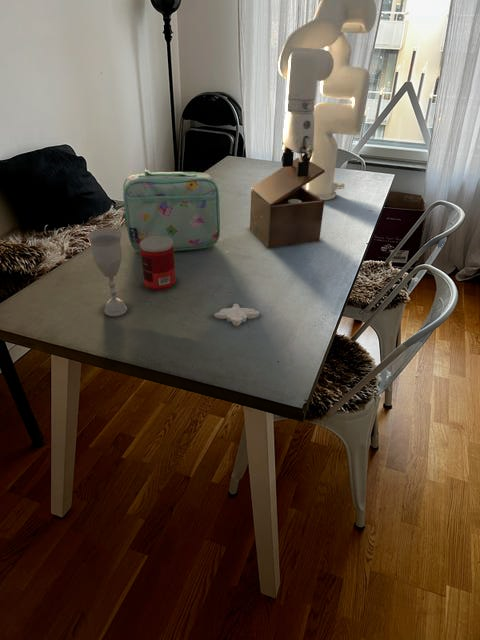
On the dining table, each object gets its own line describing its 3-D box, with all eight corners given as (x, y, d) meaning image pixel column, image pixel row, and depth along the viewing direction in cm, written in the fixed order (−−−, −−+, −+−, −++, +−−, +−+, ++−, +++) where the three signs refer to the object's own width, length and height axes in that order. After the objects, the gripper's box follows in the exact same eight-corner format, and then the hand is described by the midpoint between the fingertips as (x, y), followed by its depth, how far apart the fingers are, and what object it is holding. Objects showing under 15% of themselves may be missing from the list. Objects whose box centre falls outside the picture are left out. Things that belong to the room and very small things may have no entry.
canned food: (180, 278, 118) (178, 238, 112) (166, 293, 112) (163, 251, 105) (153, 273, 120) (150, 233, 114) (138, 287, 114) (133, 246, 107)
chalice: (102, 301, 108) (90, 228, 98) (132, 301, 108) (123, 228, 98) (97, 319, 102) (84, 243, 92) (129, 318, 102) (119, 242, 92)
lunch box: (125, 257, 127) (115, 179, 115) (125, 242, 135) (115, 167, 123) (221, 250, 132) (221, 174, 120) (215, 236, 140) (215, 163, 128)
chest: (297, 223, 150) (301, 185, 144) (319, 241, 139) (324, 201, 132) (249, 229, 145) (251, 190, 139) (268, 248, 134) (270, 207, 127)
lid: (301, 158, 139) (300, 155, 138) (325, 172, 127) (324, 169, 127) (251, 189, 139) (250, 187, 138) (271, 206, 127) (270, 204, 127)
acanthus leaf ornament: (259, 316, 104) (259, 309, 103) (239, 329, 100) (240, 322, 99) (233, 304, 108) (233, 297, 107) (213, 316, 104) (213, 309, 103)
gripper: (328, 110, 117) (320, 179, 127) (298, 99, 130) (293, 162, 140) (301, 112, 115) (295, 181, 124) (274, 100, 128) (270, 163, 138)
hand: (294, 171), depth 132 cm, fingers open, 9 cm apart
